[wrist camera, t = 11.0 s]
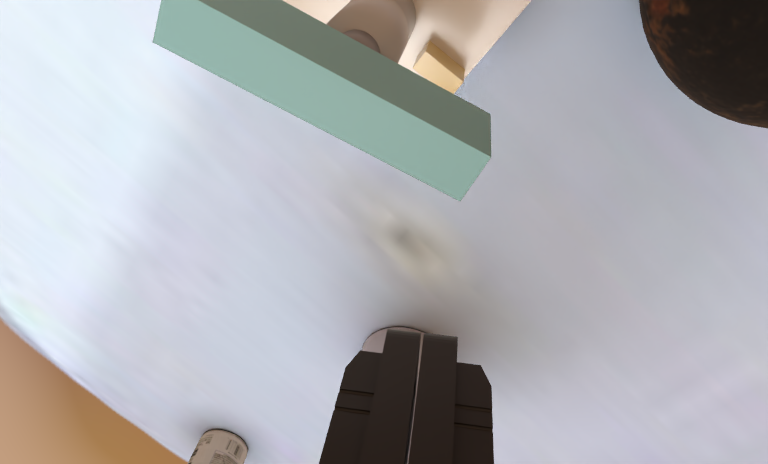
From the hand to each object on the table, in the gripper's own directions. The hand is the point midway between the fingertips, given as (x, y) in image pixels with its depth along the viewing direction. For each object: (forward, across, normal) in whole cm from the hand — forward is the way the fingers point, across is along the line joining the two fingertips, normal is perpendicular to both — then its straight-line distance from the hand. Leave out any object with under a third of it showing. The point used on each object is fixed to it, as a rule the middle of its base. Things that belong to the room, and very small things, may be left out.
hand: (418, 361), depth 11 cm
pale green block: (+20, +5, -1) cm, 21 cm away
